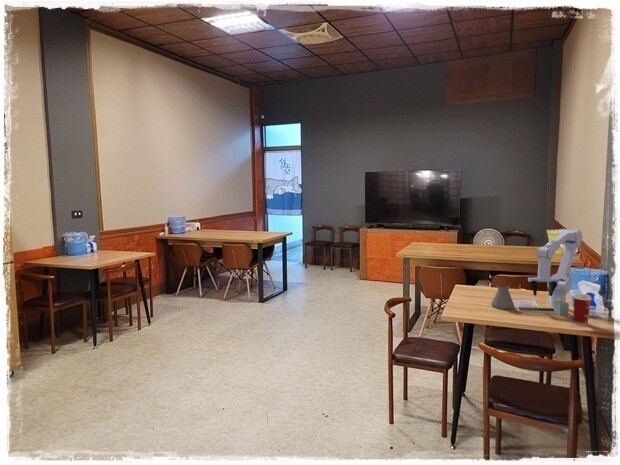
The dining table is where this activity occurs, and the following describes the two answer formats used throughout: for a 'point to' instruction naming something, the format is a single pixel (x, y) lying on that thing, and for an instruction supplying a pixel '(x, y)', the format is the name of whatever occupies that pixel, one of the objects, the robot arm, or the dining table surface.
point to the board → (541, 312)
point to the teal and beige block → (561, 307)
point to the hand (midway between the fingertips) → (542, 295)
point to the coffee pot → (502, 297)
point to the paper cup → (581, 307)
